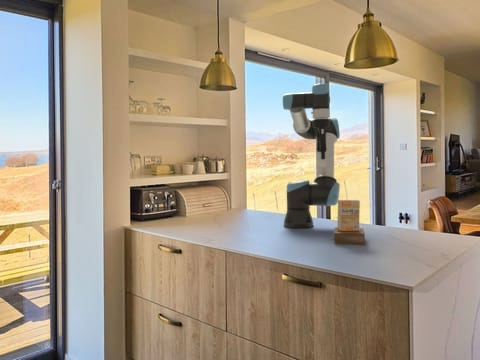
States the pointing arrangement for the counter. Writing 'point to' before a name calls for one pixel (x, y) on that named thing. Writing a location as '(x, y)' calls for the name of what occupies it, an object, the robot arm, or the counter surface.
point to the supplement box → (348, 215)
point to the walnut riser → (349, 237)
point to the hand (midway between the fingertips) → (321, 166)
